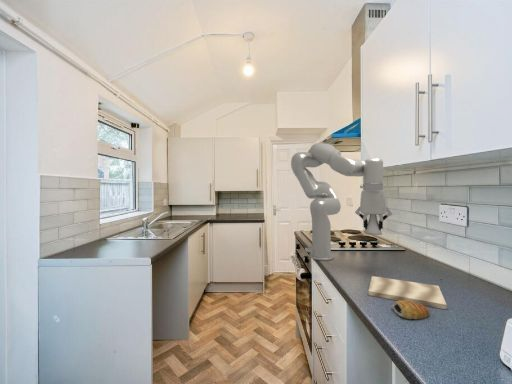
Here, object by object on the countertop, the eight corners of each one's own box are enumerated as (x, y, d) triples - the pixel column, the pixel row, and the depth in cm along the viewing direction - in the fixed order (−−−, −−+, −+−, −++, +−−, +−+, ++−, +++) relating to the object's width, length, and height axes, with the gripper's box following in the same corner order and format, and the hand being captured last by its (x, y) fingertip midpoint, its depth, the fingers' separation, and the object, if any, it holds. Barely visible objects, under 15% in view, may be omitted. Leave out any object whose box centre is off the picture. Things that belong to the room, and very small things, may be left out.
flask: (384, 235, 104) (384, 211, 103) (366, 235, 105) (366, 211, 105) (379, 232, 111) (379, 210, 111) (362, 232, 112) (362, 209, 112)
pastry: (419, 308, 78) (419, 296, 78) (435, 320, 71) (436, 307, 71) (390, 309, 78) (390, 297, 78) (403, 321, 71) (403, 308, 71)
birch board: (368, 295, 87) (368, 290, 87) (371, 279, 101) (371, 276, 101) (446, 309, 77) (446, 304, 77) (438, 289, 91) (438, 285, 91)
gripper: (351, 187, 108) (351, 229, 109) (395, 187, 100) (395, 233, 101) (353, 187, 115) (353, 227, 115) (395, 187, 107) (395, 229, 107)
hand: (373, 229), depth 108 cm, fingers closed on flask, 4 cm apart
